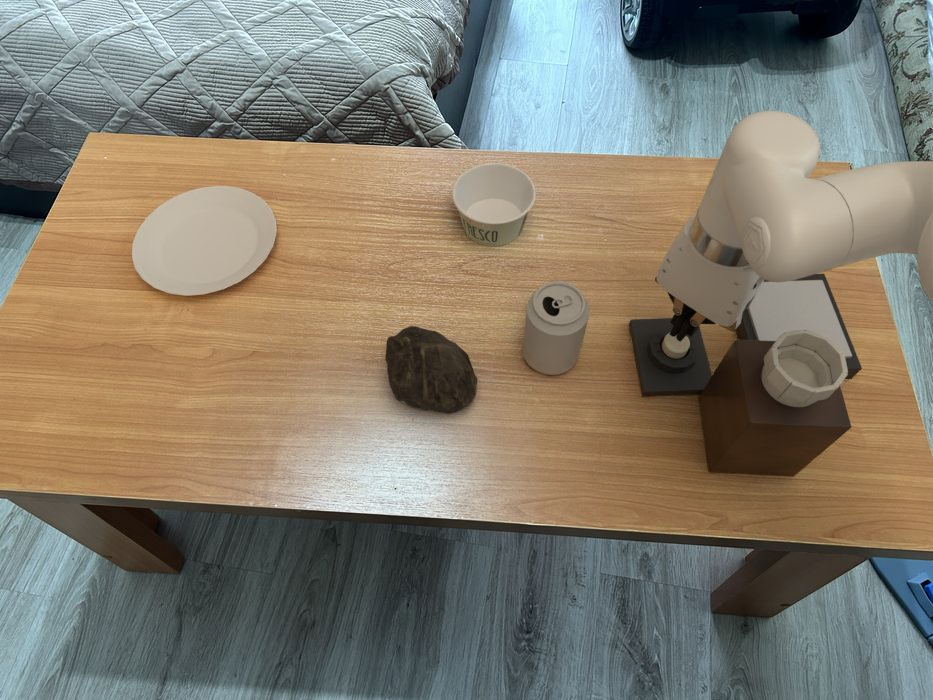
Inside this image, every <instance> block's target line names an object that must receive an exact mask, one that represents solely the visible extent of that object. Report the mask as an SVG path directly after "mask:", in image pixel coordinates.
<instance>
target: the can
mask: <svg viewBox="0 0 933 700" xmlns="http://www.w3.org/2000/svg"><path fill="white" fill-rule="evenodd" d="M589 318H590V306H589V303H588V300H587V299H586V298H585V295H584V294H583V292H582V291H581V289H579V288H578V287H577V286H576V285H574V284H572V283H569V282H567V281H563V280H561V281H560V280H553V281H548V282H547V283H544V284H542V285H541V286H539V287H538V288H537V289H536V290H535V291H534V292H532V294H531V295H530V297H529V298H528V300H527V304H526V312H525V321H524V330H523V340H522V348H521V352H522V355H523V358H524V360H525V362H526V363H527V365H528V366H529V367H531V368H532V369H533V370H534V371H536V372H538V373H541V374H543V375H550V376H554V375H562V374H564V373H567V372H568V371H570V370H571V369H572V368H573V367H574V366H575V365H576V363H577V362H578V359H579V358H580V354H581V350H582V345H583V342H584V337H585V335H586V330H587V327H588V326H587V325H588V322H589Z"/></svg>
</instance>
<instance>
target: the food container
mask: <svg viewBox="0 0 933 700" xmlns="http://www.w3.org/2000/svg"><path fill="white" fill-rule="evenodd" d="M451 190H452V191H451V197H452V198H451V199H452V201H453V204H454V206H455V208H456V209H457V210H458V214H459V217H460V220H461V224H462V227H463V230H464V232H465V235H466V236H467V237H468V238H469V239H471V240H472V241H473V242H475V243H477V244H478V245H481V246H487V247H499V246H504V245H508V244H510V243H511V242H514V241H515V240H516V239H518V237H519V236H520V235H521V233H523V228H524V227H525V223H526V221H527V218H528V215H529V213H530V211H531V209H532V207H533V206H534V204H535V201H536V199H537V198H536V197H537V190H536V186H535V184H534V181H533V180H532V178H531V177H530V176H529V175H528V174H527V173H526V172H525V171H523V170H522V169H520V168H518V167H516V166H514V165H512V164H508V163H502V162H485V163H481V164H477V165H473V166H471V167H470V168H468V169H466V170H465V171H463V172H462V173H460V175H458V176H457V178H456V179H455V182H454V183H453V186H452V189H451Z"/></svg>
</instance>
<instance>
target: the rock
mask: <svg viewBox="0 0 933 700" xmlns="http://www.w3.org/2000/svg"><path fill="white" fill-rule="evenodd" d="M385 347H386V349H385V357H384V360H385V361H386V365H387V367H386V370H387V377H388V384H389V387H390V390H391V392H392V395H393V397H394V399H395V400H396V401H398V402H403V403H404V404H406V406H408V407H411V408H412V409H413V408H414V409H418V410H421V411H432V412H436V413H438V414H439V413H440V414H445V415H446V414H447V415H450V414H456V413H457V412H459V411H462V410H463V409H466V408H468V407H469V406H470V404H472V403H473V402H474V399H475V398H476V396H477V389H478V381H479V379H478V377H477V374H476V373H475V371H474V367H473V365H472V362H471V359H470V356H469V354H468V353H467V352H466V351H465V350H464V349H463V348H462V347H460V345H458V343H457V342H454V341H452V340H451V339H449V338H447V337H445V335H443V334H441V333H440V332H438V331H436V330H430V329H426V328H424V327H423V328H422V327H419V326H415V325H413V326H412V325H411V326H407V327H404V328H403V329H401V330H400V331H399V332H398V333H396V334H395V335H390V336H388V337H387V340H386V345H385Z"/></svg>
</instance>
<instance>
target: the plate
mask: <svg viewBox="0 0 933 700" xmlns="http://www.w3.org/2000/svg"><path fill="white" fill-rule="evenodd" d="M277 229H278V228H277V219H276V216H275V214H274V212H273V210H272V208H271V206H270V205H269V204H268V203H267V202H266V201H265V200H264V199H263V198H262V197H260V196H259V195H257V194H255V193H254V192H252V191H249V190H247V189H243V188H241V187H238V186H228V185H212V186H203V187H199V188H194V189H191V190H187V191H185V192H183V193H180V194H178V195H175V196H172V197H171V198H169V199H168V200H166V201H165V202H163V203H162V204H160V205H158V206H157V207H156V208H155V209H154V210H153V211H152V212H151V213H149V215H147V216H146V217H145V219H144V220H143V221H142V223H141V224H140V226H139V227H138V229H137V230H136V233H135V236H134V237H133V241H132V245H131V246H132V247H131V260H132V263H133V267H134V269H135V271H136V273H137V274H138V275H139V277H140V278H141V279H142V281H144V282H145V283H147V284H148V285H149V286H150V287H152V288H154V289H156V290H158V291H161V292H164V293H166V294H168V295H176V296H177V295H178V296H184V297H189V296H200V295H201V296H202V295H209V294H211V293H216V292H219V291H223V290H225V289H227V288H229V287H232V286H234V285H236V284H238V283H240V282H241V281H243V280H244V279H246V278H248V277H249V276H251V274H253V273H254V272H256V270H257V269H258V268H259V267H260V266H261V265H263V263H264V262H265V261H266V260H267V258H268V256H269V255H270V253H271V251H272V249H273V248H274V245H275V242H276V237H277V233H278V231H277Z"/></svg>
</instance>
